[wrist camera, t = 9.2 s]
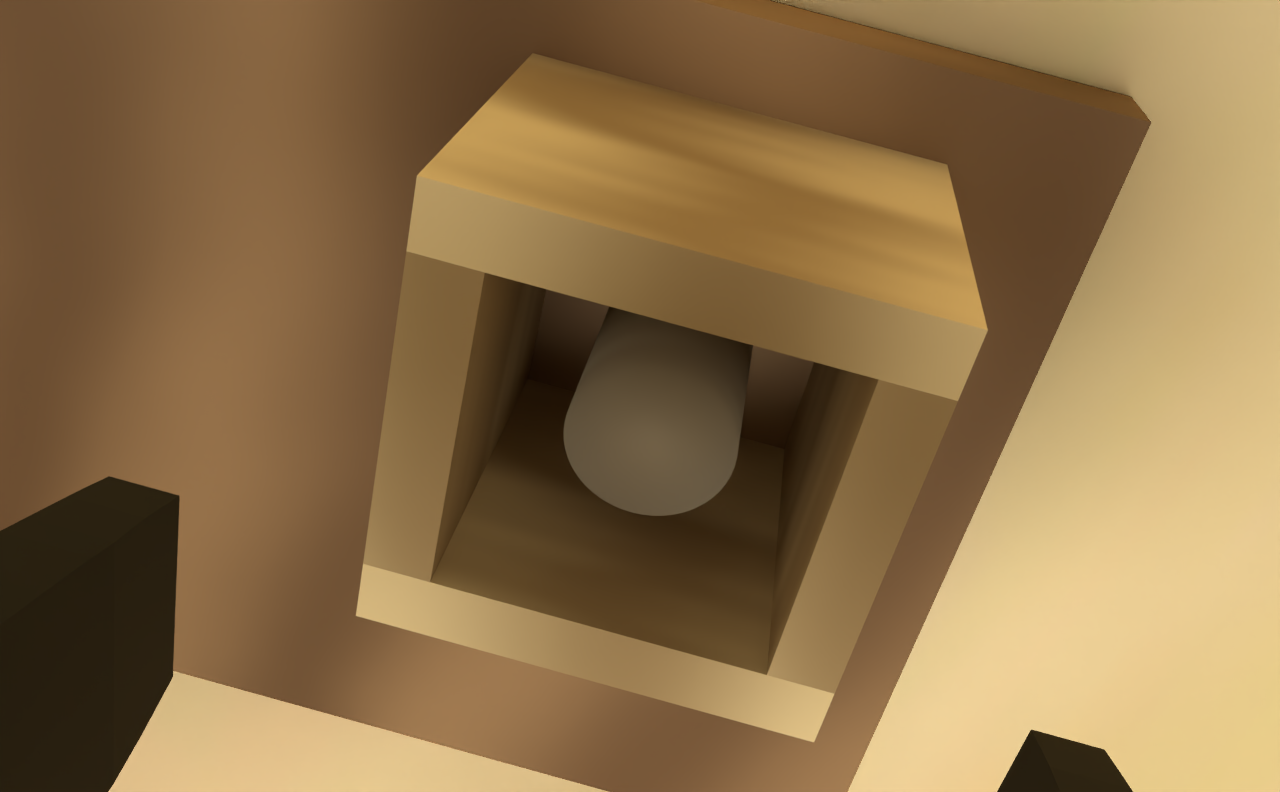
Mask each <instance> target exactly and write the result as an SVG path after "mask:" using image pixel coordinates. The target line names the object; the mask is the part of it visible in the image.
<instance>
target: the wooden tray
mask: <svg viewBox="0 0 1280 792" xmlns="http://www.w3.org/2000/svg"><path fill="white" fill-rule="evenodd" d="M532 53H534V54H538V55H542V56H545V57H549V58H553V59H556V60H560V61H564V62H568V63H571V64H575V65H579V66H582V67H586V68H590V69H594V70H597V71H601V72H605V73H608V74H612V75H616V76H620V77H623V78H627V79H631V80H635V81H638V82H642V83H646V84H649V85H653V86H657V87H661V88H664V89H668V90H672V91H675V92H679V93H683V94H687V95H690V96H694V97H698V98H701V99H705V100H709V101H713V102H716V103H720V104H724V105H728V106H731V107H735V108H739V109H742V110H746V111H750V112H754V113H757V114H761V115H765V116H768V117H772V118H776V119H780V120H783V121H787V122H791V123H794V124H798V125H802V126H806V127H809V128H813V129H817V130H821V131H824V132H828V133H832V134H835V135H839V136H843V137H847V138H850V139H854V140H858V141H861V142H865V143H869V144H873V145H876V146H880V147H884V148H887V149H891V150H895V151H899V152H902V153H906V154H910V155H914V156H917V157H921V158H925V159H928V160H932V161H936V162H940V163H943V164H947V166H948V170H949V174H950V178H951V182H952V186H953V190H954V194H955V198H956V202H957V206H958V211H959V215H960V219H961V223H962V227H963V231H964V235H965V239H966V243H967V247H968V251H969V255H970V259H971V263H972V268H973V272H974V276H975V280H976V284H977V288H978V292H979V296H980V300H981V304H982V308H983V312H984V316H985V320H986V325H987V329H988V331H987V334H986V336H985V338H984V341H983V343H982V345H981V348H980V350H979V352H978V355H977V357H976V360H975V362H974V364H973V367H972V369H971V371H970V374H969V376H968V379H967V381H966V383H965V386H964V388H963V390H962V393H961V395H960V398H959V400H958V402H957V405H956V407H955V409H954V412H953V414H952V417H951V419H950V421H949V424H948V426H947V428H946V431H945V433H944V435H943V438H942V440H941V443H940V445H939V447H938V450H937V452H936V454H935V457H934V459H933V462H932V464H931V466H930V469H929V471H928V473H927V476H926V478H925V481H924V483H923V485H922V488H921V490H920V492H919V495H918V497H917V500H916V502H915V504H914V507H913V509H912V511H911V514H910V516H909V518H908V521H907V523H906V526H905V528H904V530H903V533H902V535H901V537H900V540H899V542H898V545H897V547H896V549H895V552H894V554H893V556H892V559H891V561H890V564H889V566H888V568H887V571H886V573H885V575H884V578H883V580H882V583H881V585H880V587H879V590H878V592H877V594H876V597H875V599H874V601H873V604H872V606H871V609H870V611H869V613H868V616H867V618H866V620H865V623H864V625H863V628H862V630H861V632H860V635H859V637H858V639H857V642H856V644H855V647H854V649H853V651H852V654H851V656H850V658H849V661H848V663H847V665H846V668H845V670H844V673H843V675H842V677H841V680H840V682H839V684H838V687H837V689H836V692H835V694H834V696H833V699H832V701H831V703H830V706H829V708H828V711H827V713H826V715H825V718H824V720H823V722H822V725H821V727H820V730H819V732H818V734H817V737H816V739H815V741H814V742H810V741H807V740H803V739H800V738H796V737H792V736H789V735H785V734H781V733H778V732H774V731H771V730H767V729H763V728H760V727H756V726H753V725H749V724H745V723H742V722H738V721H734V720H731V719H727V718H724V717H720V716H716V715H713V714H709V713H705V712H702V711H698V710H695V709H691V708H687V707H684V706H680V705H677V704H673V703H669V702H666V701H662V700H658V699H655V698H651V697H648V696H644V695H640V694H637V693H633V692H630V691H626V690H622V689H619V688H615V687H611V686H608V685H604V684H601V683H597V682H593V681H590V680H586V679H583V678H579V677H575V676H572V675H568V674H564V673H561V672H557V671H554V670H550V669H546V668H543V667H539V666H535V665H532V664H528V663H525V662H521V661H517V660H514V659H510V658H507V657H503V656H499V655H496V654H492V653H488V652H485V651H481V650H478V649H474V648H470V647H467V646H463V645H460V644H456V643H452V642H449V641H445V640H441V639H438V638H434V637H431V636H427V635H423V634H420V633H416V632H412V631H409V630H405V629H402V628H398V627H394V626H391V625H387V624H384V623H380V622H376V621H373V620H369V619H365V618H362V617H358V616H356V611H357V604H358V597H359V589H360V582H361V575H362V568H363V561H364V553H365V546H366V539H367V532H368V524H369V517H370V510H371V503H372V496H373V488H374V481H375V474H376V467H377V460H378V452H379V445H380V438H381V431H382V423H383V416H384V409H385V402H386V395H387V387H388V380H389V373H390V366H391V359H392V351H393V344H394V337H395V330H396V322H397V315H398V308H399V301H400V294H401V286H402V279H403V272H404V265H405V258H406V250H407V243H408V236H409V229H410V221H411V214H412V207H413V200H414V193H415V185H416V178H417V175H418V174H419V173H420V172H421V171H422V170H423V169H424V168H425V166H426V165H427V164H428V163H429V162H430V161H431V160H432V159H433V158H434V157H435V156H436V155H437V154H438V153H439V152H440V151H441V150H442V149H443V147H444V146H445V145H446V144H447V143H448V142H449V141H450V140H451V139H452V138H453V137H454V136H455V135H456V134H457V133H458V132H459V131H460V130H461V128H462V127H463V126H464V125H465V124H466V123H467V122H468V121H469V120H470V119H471V118H472V117H473V116H474V115H475V114H476V113H477V112H478V111H479V109H480V108H481V107H482V106H483V105H484V104H485V103H486V102H487V101H488V100H489V99H490V98H491V97H492V96H493V95H494V94H495V93H496V92H497V90H498V89H499V88H500V87H501V86H502V85H503V84H504V83H505V82H506V81H507V80H508V79H509V78H510V77H511V76H512V75H513V74H514V73H515V71H516V70H517V69H518V68H519V67H520V66H521V65H522V64H523V63H524V62H525V61H526V60H527V59H528V58H529V57H530V56H531V55H532ZM1150 124H1151V121H1150V120H1149V119H1148V117H1147V116H1146V115H1145V114H1144V112H1143V111H1142V110H1141V109H1140V107H1139V106H1138V105H1137V104H1136V102H1135V101H1134V100H1133V98H1132V97H1130V96H1126V95H1122V94H1118V93H1115V92H1111V91H1107V90H1103V89H1100V88H1096V87H1092V86H1088V85H1085V84H1081V83H1077V82H1073V81H1070V80H1066V79H1062V78H1059V77H1055V76H1051V75H1047V74H1044V73H1040V72H1036V71H1032V70H1029V69H1025V68H1021V67H1017V66H1014V65H1010V64H1006V63H1002V62H999V61H995V60H991V59H987V58H984V57H980V56H976V55H972V54H969V53H965V52H961V51H957V50H954V49H950V48H946V47H942V46H939V45H935V44H931V43H927V42H924V41H920V40H916V39H912V38H909V37H905V36H901V35H897V34H894V33H890V32H886V31H882V30H879V29H875V28H871V27H867V26H864V25H860V24H856V23H852V22H849V21H845V20H841V19H837V18H834V17H830V16H826V15H822V14H819V13H815V12H811V11H807V10H804V9H800V8H796V7H792V6H789V5H785V4H781V3H777V2H774V1H770V0H0V531H1V530H3V529H5V528H7V527H9V526H11V525H13V524H15V523H17V522H18V521H20V520H22V519H24V518H26V517H28V516H30V515H32V514H34V513H36V512H38V511H40V510H42V509H44V508H46V507H48V506H50V505H51V504H53V503H55V502H57V501H59V500H61V499H63V498H65V497H67V496H69V495H71V494H73V493H75V492H77V491H79V490H81V489H83V488H85V487H87V486H89V485H91V484H94V483H96V482H98V481H100V480H102V479H104V478H106V477H108V476H110V477H114V478H118V479H121V480H125V481H128V482H132V483H136V484H139V485H143V486H147V487H150V488H154V489H158V490H161V491H165V492H168V493H172V494H176V495H179V496H180V502H179V528H178V554H177V580H176V607H175V633H174V659H173V671H176V672H180V673H184V674H187V675H191V676H194V677H198V678H202V679H205V680H209V681H212V682H216V683H220V684H223V685H227V686H230V687H234V688H238V689H241V690H245V691H248V692H252V693H256V694H259V695H263V696H266V697H270V698H274V699H277V700H281V701H284V702H288V703H292V704H295V705H299V706H302V707H306V708H310V709H313V710H317V711H321V712H324V713H328V714H331V715H335V716H339V717H342V718H346V719H349V720H353V721H357V722H360V723H364V724H367V725H371V726H375V727H378V728H382V729H385V730H389V731H393V732H396V733H400V734H403V735H407V736H411V737H414V738H418V739H421V740H425V741H429V742H432V743H436V744H440V745H443V746H447V747H450V748H454V749H458V750H461V751H465V752H468V753H472V754H476V755H479V756H483V757H486V758H490V759H494V760H497V761H501V762H504V763H508V764H512V765H515V766H519V767H522V768H526V769H530V770H533V771H537V772H540V773H544V774H548V775H551V776H555V777H559V778H562V779H566V780H569V781H573V782H577V783H580V784H584V785H587V786H591V787H595V788H598V789H602V790H605V791H609V792H847V791H848V789H849V787H850V785H851V783H852V780H853V778H854V776H855V774H856V772H857V769H858V767H859V765H860V763H861V761H862V758H863V756H864V754H865V752H866V750H867V747H868V745H869V743H870V741H871V739H872V736H873V734H874V732H875V730H876V728H877V725H878V723H879V721H880V719H881V717H882V714H883V712H884V710H885V708H886V706H887V703H888V701H889V699H890V697H891V695H892V692H893V690H894V688H895V686H896V684H897V681H898V679H899V677H900V675H901V673H902V670H903V668H904V666H905V664H906V662H907V659H908V657H909V655H910V653H911V650H912V648H913V646H914V644H915V642H916V639H917V637H918V635H919V633H920V631H921V628H922V626H923V624H924V622H925V620H926V617H927V615H928V613H929V611H930V609H931V606H932V604H933V602H934V600H935V598H936V595H937V593H938V591H939V589H940V587H941V584H942V582H943V580H944V578H945V576H946V573H947V571H948V569H949V567H950V565H951V562H952V560H953V558H954V556H955V554H956V551H957V549H958V547H959V545H960V543H961V540H962V538H963V536H964V534H965V532H966V529H967V527H968V525H969V523H970V521H971V518H972V516H973V514H974V512H975V510H976V507H977V505H978V503H979V501H980V499H981V496H982V494H983V492H984V490H985V487H986V485H987V483H988V481H989V479H990V476H991V474H992V472H993V470H994V468H995V465H996V463H997V461H998V459H999V457H1000V454H1001V452H1002V450H1003V448H1004V446H1005V443H1006V441H1007V439H1008V437H1009V435H1010V432H1011V430H1012V428H1013V426H1014V424H1015V421H1016V419H1017V417H1018V415H1019V413H1020V410H1021V408H1022V406H1023V404H1024V402H1025V399H1026V397H1027V395H1028V393H1029V391H1030V388H1031V386H1032V384H1033V382H1034V380H1035V377H1036V375H1037V373H1038V371H1039V369H1040V366H1041V364H1042V362H1043V360H1044V358H1045V355H1046V353H1047V351H1048V349H1049V347H1050V344H1051V342H1052V340H1053V338H1054V336H1055V333H1056V331H1057V329H1058V327H1059V324H1060V322H1061V320H1062V318H1063V316H1064V313H1065V311H1066V309H1067V307H1068V305H1069V302H1070V300H1071V298H1072V296H1073V294H1074V291H1075V289H1076V287H1077V285H1078V283H1079V280H1080V278H1081V276H1082V274H1083V272H1084V269H1085V267H1086V265H1087V263H1088V261H1089V258H1090V256H1091V254H1092V252H1093V250H1094V247H1095V245H1096V243H1097V241H1098V239H1099V236H1100V234H1101V232H1102V230H1103V228H1104V225H1105V223H1106V221H1107V219H1108V217H1109V214H1110V212H1111V210H1112V208H1113V206H1114V203H1115V201H1116V199H1117V197H1118V195H1119V192H1120V190H1121V188H1122V186H1123V184H1124V181H1125V179H1126V177H1127V175H1128V173H1129V170H1130V168H1131V166H1132V164H1133V161H1134V159H1135V157H1136V155H1137V153H1138V150H1139V148H1140V146H1141V144H1142V142H1143V139H1144V137H1145V135H1146V133H1147V131H1148V128H1149V126H1150ZM813 364H814V362H812V361H809V360H805V359H801V358H798V357H794V356H790V355H787V354H783V353H779V352H776V351H772V350H768V349H764V348H761V347H757V346H753V345H750V344H746V343H742V342H739V341H735V340H731V339H728V338H724V337H720V336H717V335H713V334H709V333H706V332H702V331H698V330H695V329H691V328H687V327H684V326H680V325H676V324H672V323H669V322H665V321H661V320H658V319H654V318H650V317H647V316H643V315H639V314H636V313H632V312H628V311H625V310H621V309H617V308H614V307H610V306H606V305H603V304H599V303H595V302H592V301H588V300H584V299H580V298H577V297H573V296H569V295H566V294H562V293H558V292H555V291H551V290H547V289H546V293H545V298H544V303H543V307H542V312H541V317H540V322H539V327H538V332H537V336H536V341H535V346H534V351H533V356H532V361H531V365H530V370H529V375H528V379H529V380H533V381H537V382H540V383H544V384H548V385H551V386H555V387H559V388H562V389H566V390H570V391H573V392H575V394H574V396H573V399H572V401H571V404H570V406H569V409H568V412H567V415H566V418H565V423H564V445H565V450H566V453H567V457H568V459H569V462H570V464H571V466H572V468H573V470H574V471H575V473H576V474H577V476H578V477H579V478H580V480H581V481H582V482H583V483H584V485H585V486H587V487H588V488H589V489H590V490H591V491H592V492H593V493H594V494H596V495H597V496H598V497H599V498H601V499H602V500H604V501H606V502H607V503H609V504H611V505H613V506H615V507H618V508H620V509H623V510H626V511H629V512H632V513H637V514H641V515H650V516H666V515H675V514H679V513H683V512H687V511H689V510H692V509H695V508H697V507H699V506H701V505H703V504H705V503H706V502H707V501H709V500H710V499H712V498H713V497H714V496H715V495H716V494H717V493H719V492H720V491H721V489H722V488H723V487H724V486H725V484H726V483H727V481H728V480H729V478H730V476H731V475H732V472H733V470H734V467H735V464H736V460H737V455H738V448H739V441H740V437H742V438H745V439H749V440H753V441H756V442H760V443H764V444H767V445H771V446H775V447H778V448H782V449H785V446H786V443H787V440H788V437H789V434H790V431H791V428H792V425H793V423H794V420H795V417H796V414H797V411H798V408H799V405H800V402H801V399H802V396H803V393H804V391H805V388H806V385H807V382H808V379H809V376H810V373H811V370H812V367H813Z"/></svg>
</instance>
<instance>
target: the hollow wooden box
mask: <svg viewBox="0 0 1280 792" xmlns="http://www.w3.org/2000/svg"><path fill="white" fill-rule="evenodd" d="M546 289H547V290H551V291H555V292H558V293H562V294H566V295H569V296H573V297H577V298H580V299H584V300H588V301H592V302H595V303H599V304H603V305H606V306H610V307H614V308H617V309H621V310H625V311H628V312H632V313H636V314H639V315H643V316H647V317H650V318H654V319H658V320H661V321H665V322H669V323H672V324H676V325H680V326H684V327H687V328H691V329H695V330H698V331H702V332H706V333H709V334H713V335H717V336H720V337H724V338H728V339H731V340H735V341H739V342H742V343H746V344H750V345H753V346H757V347H761V348H764V349H768V350H772V351H776V352H779V353H783V354H787V355H790V356H794V357H798V358H801V359H805V360H809V361H812V362H814V364H813V367H812V370H811V373H810V376H809V379H808V382H807V385H806V388H805V391H804V393H803V396H802V399H801V402H800V405H799V408H798V411H797V414H796V417H795V420H794V423H793V425H792V428H791V431H790V434H789V437H788V440H787V443H786V446H785V449H782V448H778V447H775V446H771V445H767V444H764V443H760V442H756V441H753V440H749V439H745V438H742V437H740V441H739V448H738V455H737V460H736V464H735V467H734V470H733V472H732V475H731V476H730V478H729V480H728V481H727V483H726V484H725V486H724V487H723V488H722V489H721V491H720V492H719V493H717V494H716V495H715V496H714V497H713V498H712V499H710V500H709V501H707V502H706V503H705V504H703V505H701V506H699V507H697V508H695V509H692V510H689V511H687V512H683V513H679V514H675V515H666V516H650V515H641V514H637V513H632V512H629V511H626V510H623V509H620V508H618V507H615V506H613V505H611V504H609V503H607V502H606V501H604V500H602V499H601V498H599V497H598V496H597V495H596V494H594V493H593V492H592V491H591V490H590V489H589V488H588V487H587V486H585V485H584V483H583V482H582V481H581V480H580V478H579V477H578V476H577V474H576V473H575V471H574V470H573V468H572V466H571V464H570V462H569V459H568V457H567V453H566V450H565V445H564V423H565V418H566V415H567V412H568V409H569V406H570V404H571V401H572V399H573V396H574V394H575V392H573V391H570V390H566V389H562V388H559V387H555V386H551V385H548V384H544V383H540V382H537V381H533V380H529V379H528V375H529V370H530V365H531V361H532V356H533V351H534V346H535V341H536V336H537V332H538V327H539V322H540V317H541V312H542V307H543V303H544V298H545V293H546ZM987 331H988V329H987V325H986V320H985V316H984V312H983V308H982V304H981V300H980V296H979V292H978V288H977V284H976V280H975V276H974V272H973V268H972V263H971V259H970V255H969V251H968V247H967V243H966V239H965V235H964V231H963V227H962V223H961V219H960V215H959V211H958V206H957V202H956V198H955V194H954V190H953V186H952V182H951V178H950V174H949V170H948V166H947V164H943V163H940V162H936V161H932V160H928V159H925V158H921V157H917V156H914V155H910V154H906V153H902V152H899V151H895V150H891V149H887V148H884V147H880V146H876V145H873V144H869V143H865V142H861V141H858V140H854V139H850V138H847V137H843V136H839V135H835V134H832V133H828V132H824V131H821V130H817V129H813V128H809V127H806V126H802V125H798V124H794V123H791V122H787V121H783V120H780V119H776V118H772V117H768V116H765V115H761V114H757V113H754V112H750V111H746V110H742V109H739V108H735V107H731V106H728V105H724V104H720V103H716V102H713V101H709V100H705V99H701V98H698V97H694V96H690V95H687V94H683V93H679V92H675V91H672V90H668V89H664V88H661V87H657V86H653V85H649V84H646V83H642V82H638V81H635V80H631V79H627V78H623V77H620V76H616V75H612V74H608V73H605V72H601V71H597V70H594V69H590V68H586V67H582V66H579V65H575V64H571V63H568V62H564V61H560V60H556V59H553V58H549V57H545V56H542V55H538V54H534V53H532V55H531V56H530V57H529V58H528V59H527V60H526V61H525V62H524V63H523V64H522V65H521V66H520V67H519V68H518V69H517V70H516V71H515V73H514V74H513V75H512V76H511V77H510V78H509V79H508V80H507V81H506V82H505V83H504V84H503V85H502V86H501V87H500V88H499V89H498V90H497V92H496V93H495V94H494V95H493V96H492V97H491V98H490V99H489V100H488V101H487V102H486V103H485V104H484V105H483V106H482V107H481V108H480V109H479V111H478V112H477V113H476V114H475V115H474V116H473V117H472V118H471V119H470V120H469V121H468V122H467V123H466V124H465V125H464V126H463V127H462V128H461V130H460V131H459V132H458V133H457V134H456V135H455V136H454V137H453V138H452V139H451V140H450V141H449V142H448V143H447V144H446V145H445V146H444V147H443V149H442V150H441V151H440V152H439V153H438V154H437V155H436V156H435V157H434V158H433V159H432V160H431V161H430V162H429V163H428V164H427V165H426V166H425V168H424V169H423V170H422V171H421V172H420V173H419V174H418V175H417V178H416V185H415V193H414V200H413V207H412V214H411V221H410V229H409V236H408V243H407V250H406V258H405V265H404V272H403V279H402V286H401V294H400V301H399V308H398V315H397V322H396V330H395V337H394V344H393V351H392V359H391V366H390V373H389V380H388V387H387V395H386V402H385V409H384V416H383V423H382V431H381V438H380V445H379V452H378V460H377V467H376V474H375V481H374V488H373V496H372V503H371V510H370V517H369V524H368V532H367V539H366V546H365V553H364V561H363V568H362V575H361V582H360V589H359V597H358V604H357V611H356V616H358V617H362V618H365V619H369V620H373V621H376V622H380V623H384V624H387V625H391V626H394V627H398V628H402V629H405V630H409V631H412V632H416V633H420V634H423V635H427V636H431V637H434V638H438V639H441V640H445V641H449V642H452V643H456V644H460V645H463V646H467V647H470V648H474V649H478V650H481V651H485V652H488V653H492V654H496V655H499V656H503V657H507V658H510V659H514V660H517V661H521V662H525V663H528V664H532V665H535V666H539V667H543V668H546V669H550V670H554V671H557V672H561V673H564V674H568V675H572V676H575V677H579V678H583V679H586V680H590V681H593V682H597V683H601V684H604V685H608V686H611V687H615V688H619V689H622V690H626V691H630V692H633V693H637V694H640V695H644V696H648V697H651V698H655V699H658V700H662V701H666V702H669V703H673V704H677V705H680V706H684V707H687V708H691V709H695V710H698V711H702V712H705V713H709V714H713V715H716V716H720V717H724V718H727V719H731V720H734V721H738V722H742V723H745V724H749V725H753V726H756V727H760V728H763V729H767V730H771V731H774V732H778V733H781V734H785V735H789V736H792V737H796V738H800V739H803V740H807V741H810V742H814V741H815V739H816V737H817V734H818V732H819V730H820V727H821V725H822V722H823V720H824V718H825V715H826V713H827V711H828V708H829V706H830V703H831V701H832V699H833V696H834V694H835V692H836V689H837V687H838V684H839V682H840V680H841V677H842V675H843V673H844V670H845V668H846V665H847V663H848V661H849V658H850V656H851V654H852V651H853V649H854V647H855V644H856V642H857V639H858V637H859V635H860V632H861V630H862V628H863V625H864V623H865V620H866V618H867V616H868V613H869V611H870V609H871V606H872V604H873V601H874V599H875V597H876V594H877V592H878V590H879V587H880V585H881V583H882V580H883V578H884V575H885V573H886V571H887V568H888V566H889V564H890V561H891V559H892V556H893V554H894V552H895V549H896V547H897V545H898V542H899V540H900V537H901V535H902V533H903V530H904V528H905V526H906V523H907V521H908V518H909V516H910V514H911V511H912V509H913V507H914V504H915V502H916V500H917V497H918V495H919V492H920V490H921V488H922V485H923V483H924V481H925V478H926V476H927V473H928V471H929V469H930V466H931V464H932V462H933V459H934V457H935V454H936V452H937V450H938V447H939V445H940V443H941V440H942V438H943V435H944V433H945V431H946V428H947V426H948V424H949V421H950V419H951V417H952V414H953V412H954V409H955V407H956V405H957V402H958V400H959V398H960V395H961V393H962V390H963V388H964V386H965V383H966V381H967V379H968V376H969V374H970V371H971V369H972V367H973V364H974V362H975V360H976V357H977V355H978V352H979V350H980V348H981V345H982V343H983V341H984V338H985V336H986V334H987Z"/></svg>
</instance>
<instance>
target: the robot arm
mask: <svg viewBox="0 0 1280 792" xmlns="http://www.w3.org/2000/svg"><path fill="white" fill-rule="evenodd" d="M179 502H180V496H179V495H176V494H172V493H168V492H165V491H161V490H158V489H154V488H150V487H147V486H143V485H139V484H136V483H132V482H128V481H125V480H121V479H118V478H114V477H110V476H108V477H106V478H104V479H102V480H100V481H98V482H96V483H94V484H91V485H89V486H87V487H85V488H83V489H81V490H79V491H77V492H75V493H73V494H71V495H69V496H67V497H65V498H63V499H61V500H59V501H57V502H55V503H53V504H51V505H50V506H48V507H46V508H44V509H42V510H40V511H38V512H36V513H34V514H32V515H30V516H28V517H26V518H24V519H22V520H20V521H18V522H17V523H15V524H13V525H11V526H9V527H7V528H5V529H3V530H1V531H0V792H108V791H109V789H110V788H111V787H112V785H113V784H114V782H115V780H116V778H117V777H118V775H119V773H120V772H121V770H122V768H123V766H124V765H125V763H126V761H127V759H128V758H129V756H130V754H131V752H132V751H133V749H134V747H135V745H136V744H137V742H138V740H139V738H140V737H141V735H142V733H143V731H144V729H145V727H146V726H147V724H148V722H149V720H150V718H151V716H152V714H153V713H154V711H155V709H156V707H157V705H158V703H159V701H160V700H161V698H162V696H163V694H164V692H165V690H166V688H167V687H168V685H169V683H170V681H171V679H172V677H173V659H174V633H175V607H176V580H177V554H178V528H179ZM997 792H1133V791H1132V790H1131V788H1130V787H1129V785H1128V784H1127V782H1126V781H1125V779H1124V778H1123V776H1122V775H1121V773H1120V772H1119V770H1118V769H1117V767H1116V766H1115V764H1114V763H1113V761H1112V760H1111V759H1110V757H1109V756H1108V754H1107V753H1106V751H1105V750H1104V749H1100V748H1097V747H1093V746H1089V745H1086V744H1082V743H1078V742H1075V741H1071V740H1067V739H1064V738H1060V737H1057V736H1053V735H1049V734H1046V733H1042V732H1038V731H1035V730H1031V731H1030V733H1029V734H1028V736H1027V738H1026V740H1025V742H1024V744H1023V745H1022V747H1021V749H1020V751H1019V753H1018V755H1017V756H1016V758H1015V760H1014V762H1013V764H1012V766H1011V767H1010V769H1009V771H1008V773H1007V775H1006V777H1005V778H1004V780H1003V782H1002V784H1001V786H1000V788H999V789H998V791H997Z"/></svg>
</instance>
